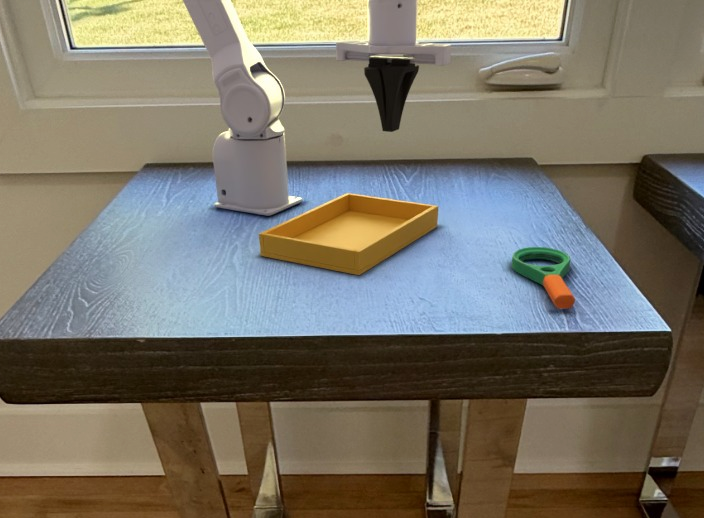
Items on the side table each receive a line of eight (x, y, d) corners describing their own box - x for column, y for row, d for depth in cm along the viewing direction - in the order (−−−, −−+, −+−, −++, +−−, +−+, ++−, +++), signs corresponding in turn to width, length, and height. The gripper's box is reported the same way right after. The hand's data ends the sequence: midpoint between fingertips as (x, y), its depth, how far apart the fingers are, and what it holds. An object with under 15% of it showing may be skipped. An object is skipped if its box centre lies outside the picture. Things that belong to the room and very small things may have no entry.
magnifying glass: (507, 258, 79) (508, 242, 78) (561, 257, 79) (564, 241, 78) (531, 312, 67) (533, 295, 66) (595, 312, 67) (598, 294, 66)
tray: (260, 255, 81) (258, 233, 79) (347, 212, 94) (347, 192, 92) (359, 275, 75) (359, 251, 74) (437, 226, 88) (438, 205, 87)
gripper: (320, -2, 81) (325, 131, 89) (434, -1, 75) (428, 141, 83) (352, -5, 86) (354, 121, 94) (461, -4, 80) (453, 130, 88)
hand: (390, 130), depth 89 cm, fingers closed
